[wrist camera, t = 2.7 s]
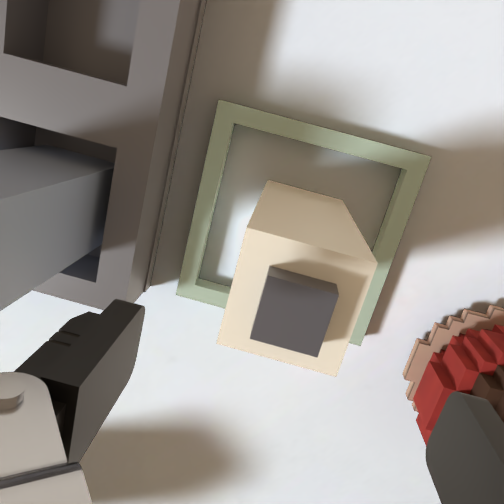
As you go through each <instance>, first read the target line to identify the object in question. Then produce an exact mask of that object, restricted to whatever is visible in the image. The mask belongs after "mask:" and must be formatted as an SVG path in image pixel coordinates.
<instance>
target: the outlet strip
mask: <svg viewBox="0 0 504 504" xmlns="http://www.w3.org/2000/svg"><path fill="white" fill-rule="evenodd" d="M205 5H206V0H0V150H5V149H14V148H23V147H32V146H41V145H51V146H54V147H58V148H62V149H65V150H69V151H73V152H76V153H80V154H84V155H87V156H91V157H95V158H98V159H102V160H106V161H109V162H113V163H115V165H114V171H113V177H112V184H111V190H110V197H109V203H108V209H107V216H106V222H105V228H104V235H103V241H102V244H101V245H100V246H98V247H97V248H95V249H94V250H92V251H91V252H89V253H88V254H86V255H85V256H83V257H82V258H80V259H79V260H77V261H76V262H74V263H73V264H71V265H70V266H68V267H66V268H65V269H63V270H62V271H60V272H59V273H57V274H56V275H54V276H53V277H51V278H50V279H48V280H47V281H45V282H44V283H42V284H41V285H39V286H38V287H36V288H34V289H33V291H37V292H41V293H44V294H48V295H51V296H55V297H59V298H62V299H66V300H69V301H73V302H77V303H80V304H84V305H87V306H91V307H95V308H98V309H102V310H105V309H106V308H107V307H108V306H109V305H110V304H111V302H112V301H113V300H115V299H119V300H123V301H127V302H131V303H134V302H135V301H136V300H137V299H138V298H139V296H140V295H141V294H142V293H143V292H146V290H147V289H148V288H149V287H150V283H151V278H152V273H153V268H154V263H155V258H156V253H157V248H158V242H159V237H160V232H161V227H162V222H163V217H164V212H165V207H166V202H167V197H168V192H169V187H170V182H171V177H172V172H173V167H174V162H175V157H176V152H177V147H178V142H179V137H180V132H181V126H182V121H183V116H184V111H185V106H186V101H187V96H188V91H189V86H190V81H191V76H192V71H193V66H194V61H195V56H196V51H197V46H198V41H199V36H200V31H201V26H202V21H203V16H204V10H205Z"/></svg>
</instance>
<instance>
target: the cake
mask: <svg viewBox="0 0 504 504" xmlns="http://www.w3.org/2000/svg"><path fill="white" fill-rule="evenodd" d="M403 376H404V379H405V380H408V381H410V384H409V386H408V389H407V391H406V396H407V399H408V400H411V401H413V403H412V406H413V409H414V411H417V412H419V414H418V417H417V419H416V421H417V424H418V426H419V429H420V431H421V434H422V437H423V439H424V442H425V444H426V446H427V442H428V439H429V437H430V435H431V433H432V430H433V428H434V426H435V424H436V422H437V420H438V418H439V415H440V413H441V411H442V409H443V407H444V405H445V403H446V400H447V398H448V397H449V395H450V394H451V393H452V392H454V391H458V392H462V393H465V394H469V395H473V396H476V397H480V398H484V399H487V400H488V401H489V402H490V404H491V405H492V406H493V408H494V409H495V411H496V412H497V414H498V415H499V417H500V418H501V420H502V421H503V423H504V308H501V307H497V306H493V305H490V306H489V308H488V310H487V312H486V314H482V313H479V312H475V311H471V310H467V309H464V310H463V313H462V315H461V317H460V318H457V317H453V316H449V318H448V320H447V323H446V325H443V324H439V323H436V322H435V323H434V326H433V328H432V331H431V333H430V335H429V338H428V340H427V341H426V340H422V339H418V338H417V339H416V342H415V344H414V347H413V349H412V351H411V354H410V356H409V359H408V361H407V364H406V366H405V369H404V371H403Z"/></svg>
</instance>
